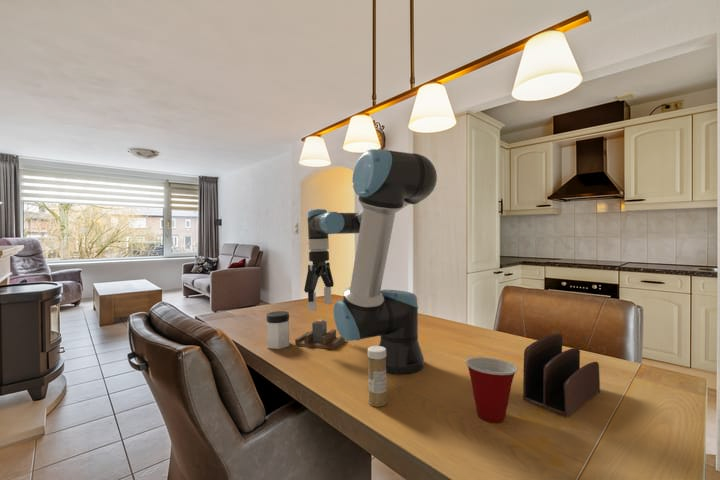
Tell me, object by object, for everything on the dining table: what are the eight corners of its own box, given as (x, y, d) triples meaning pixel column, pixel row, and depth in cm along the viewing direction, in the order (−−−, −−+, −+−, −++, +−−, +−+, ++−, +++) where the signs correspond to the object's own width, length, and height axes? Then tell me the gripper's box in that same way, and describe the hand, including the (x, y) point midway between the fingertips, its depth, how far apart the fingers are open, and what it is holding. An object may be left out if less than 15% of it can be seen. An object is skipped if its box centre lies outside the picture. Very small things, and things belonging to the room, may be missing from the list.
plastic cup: (524, 414, 76) (524, 361, 76) (508, 436, 68) (507, 377, 68) (477, 399, 84) (477, 350, 83) (457, 417, 76) (457, 363, 75)
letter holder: (522, 401, 82) (522, 344, 82) (558, 379, 94) (558, 329, 94) (567, 419, 74) (566, 355, 74) (600, 392, 86) (600, 337, 86)
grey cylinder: (326, 339, 130) (326, 319, 129) (322, 342, 126) (321, 322, 126) (317, 338, 131) (317, 318, 131) (312, 341, 127) (312, 321, 127)
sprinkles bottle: (367, 398, 85) (366, 345, 84) (385, 397, 85) (384, 344, 85) (369, 408, 80) (368, 351, 80) (388, 407, 80) (387, 351, 80)
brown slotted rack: (345, 340, 130) (344, 330, 130) (334, 349, 121) (334, 338, 121) (307, 337, 136) (307, 327, 135) (295, 345, 126) (295, 334, 126)
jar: (273, 351, 120) (272, 317, 120) (262, 345, 126) (261, 313, 126) (294, 345, 126) (294, 313, 126) (283, 340, 132) (282, 309, 132)
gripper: (323, 249, 140) (325, 300, 140) (293, 252, 117) (295, 313, 117) (340, 249, 138) (342, 301, 138) (312, 251, 114) (314, 314, 114)
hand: (320, 307), depth 127 cm, fingers open, 13 cm apart
